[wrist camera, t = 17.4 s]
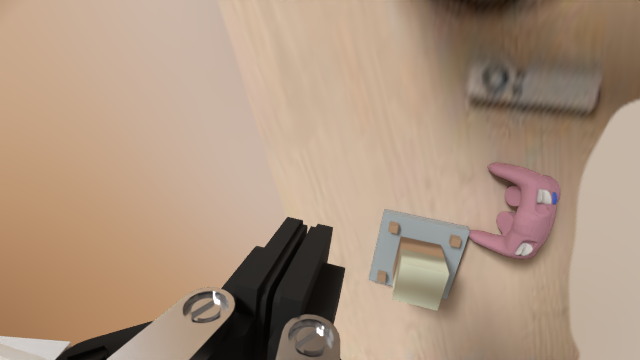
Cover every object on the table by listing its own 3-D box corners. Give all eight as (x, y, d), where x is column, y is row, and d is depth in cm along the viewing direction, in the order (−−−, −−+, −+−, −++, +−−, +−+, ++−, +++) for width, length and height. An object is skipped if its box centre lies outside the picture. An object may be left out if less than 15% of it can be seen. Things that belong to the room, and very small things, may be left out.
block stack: (400, 236, 38) (402, 263, 32) (440, 244, 37) (449, 274, 32) (392, 268, 40) (392, 299, 34) (430, 277, 39) (437, 310, 33)
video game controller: (493, 236, 38) (543, 270, 32) (462, 237, 37) (508, 273, 31) (518, 160, 35) (580, 182, 29) (485, 158, 34) (542, 181, 27)
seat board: (384, 209, 39) (384, 216, 37) (467, 226, 37) (472, 235, 35) (369, 274, 42) (368, 284, 40) (445, 293, 40) (447, 304, 38)
